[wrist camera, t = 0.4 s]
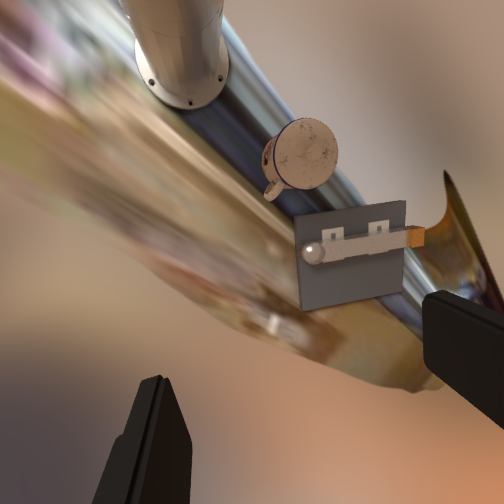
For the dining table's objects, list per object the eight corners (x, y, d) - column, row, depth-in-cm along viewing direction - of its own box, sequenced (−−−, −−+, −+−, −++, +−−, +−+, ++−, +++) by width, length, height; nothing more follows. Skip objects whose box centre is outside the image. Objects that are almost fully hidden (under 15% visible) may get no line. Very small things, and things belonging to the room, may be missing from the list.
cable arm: (299, 261, 44) (306, 267, 41) (298, 241, 43) (305, 245, 40) (411, 242, 47) (425, 246, 44) (412, 223, 46) (427, 226, 43)
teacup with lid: (282, 119, 40) (312, 92, 29) (322, 157, 42) (364, 145, 31) (238, 181, 41) (250, 178, 30) (279, 214, 43) (305, 223, 32)
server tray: (293, 215, 44) (297, 217, 42) (400, 200, 47) (408, 200, 45) (300, 307, 49) (304, 312, 47) (396, 288, 52) (404, 292, 50)
